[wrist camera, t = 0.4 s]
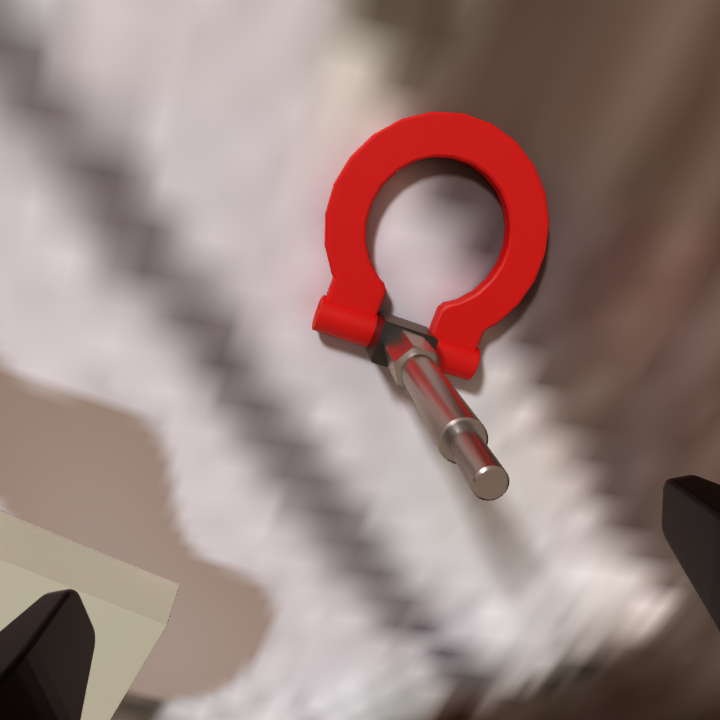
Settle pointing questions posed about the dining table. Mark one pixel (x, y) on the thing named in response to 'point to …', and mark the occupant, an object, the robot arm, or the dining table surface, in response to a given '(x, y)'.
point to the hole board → (87, 603)
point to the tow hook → (452, 318)
